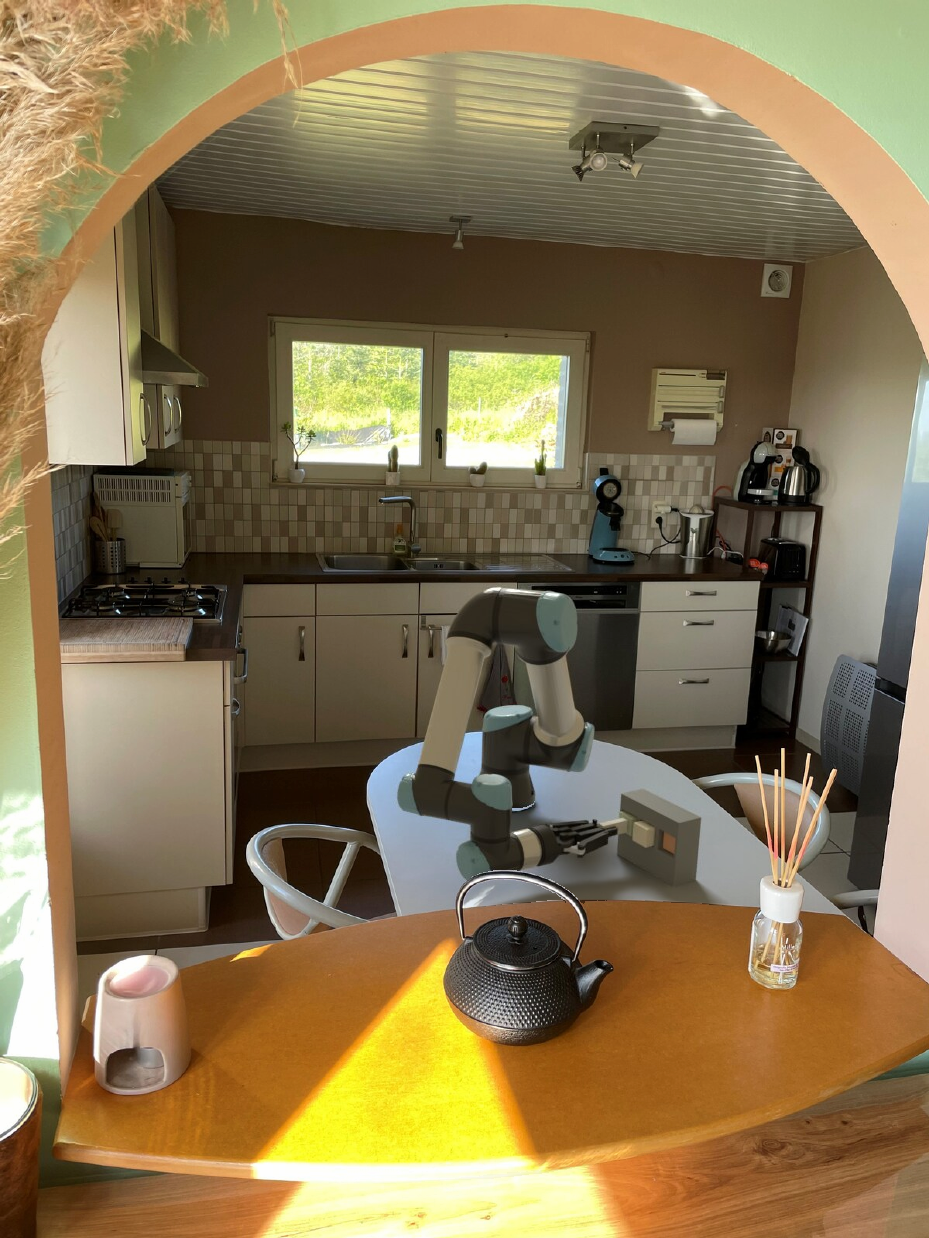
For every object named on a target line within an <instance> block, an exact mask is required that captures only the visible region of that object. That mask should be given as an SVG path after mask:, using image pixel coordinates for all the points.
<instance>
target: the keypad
mask: <svg viewBox="0 0 929 1238" xmlns="http://www.w3.org/2000/svg"><path fill="white" fill-rule="evenodd" d="M621 811H626V812H628V813H630V814H632V815H634V816H636V817H637V822H638V821H642V820H643V821H645V822H647V823H649V824H651V825H652V826H654V827H656V830H655V843H654V846H650V847H647V848H645V847H644V846H642V845H640V844H638V843H637V842H635V841H633V840H632V838H633V836H630V835H628V834H626V833H623V834H619V835H617V848H616V855H618V856H620V857H622V858H624V859H625V860H626V861H628V862H630V863H632V864H633V865H635V866H637V867H639V868H640V869H642V870H644V871H646V872H648V873H650V875H653V876H655V877H656V878H658V879H660V880H661V881H663V882H664V883H667V884H668V885H670V886H671V887H676V886H680V885H684V884H687V883H689V882H692V881H696V880H697V872H698V871H697V870H698V859H699V858H698V857H699V850H700V849H699V847H700V837H701V836H700V835H701V824H702V817H701V816H699V815H697V814H695V813H693V812H691V811H689V810H687V809H685V808H683V807H681V806H679V805H678V804H675V803H673V802H671V801H669V800H666V799H664V798H663V797H660V796H659V795H656V794H655V793H653V792H650V791H648V790H646V789H645V788H639V789H636V790H635V789H634V790H630V791H627V792H622V793H620V806H619V812H621ZM664 832H666V833H667V834H669V835H671V836H673V837H675V850H674V854H673V853H671V852H669V851H668V850H666V849H664V848H663V837H664Z"/></svg>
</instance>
